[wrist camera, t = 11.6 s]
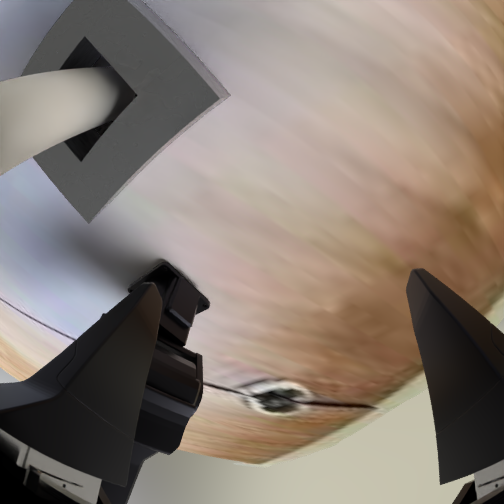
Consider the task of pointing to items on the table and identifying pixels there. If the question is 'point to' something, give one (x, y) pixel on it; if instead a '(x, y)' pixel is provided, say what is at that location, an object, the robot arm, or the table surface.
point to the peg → (56, 109)
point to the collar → (137, 112)
